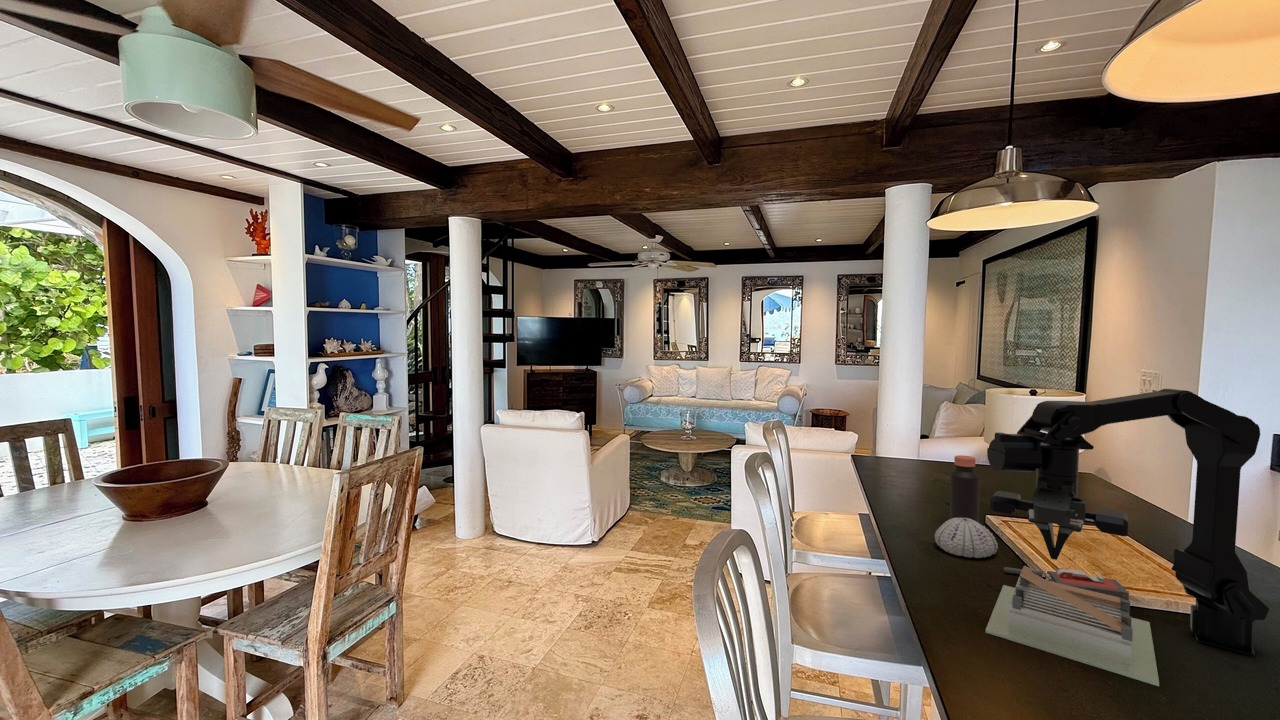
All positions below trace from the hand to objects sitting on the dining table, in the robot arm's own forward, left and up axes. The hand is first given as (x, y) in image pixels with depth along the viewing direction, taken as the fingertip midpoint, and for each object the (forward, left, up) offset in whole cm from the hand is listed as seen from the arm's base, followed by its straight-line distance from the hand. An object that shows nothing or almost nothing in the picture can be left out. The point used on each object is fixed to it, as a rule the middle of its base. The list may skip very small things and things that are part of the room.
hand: (1054, 558), depth 91 cm
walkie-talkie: (-1, -23, -14) cm, 27 cm away
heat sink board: (-2, -3, -13) cm, 14 cm away
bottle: (+22, -48, -14) cm, 55 cm away
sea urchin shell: (+19, -31, -14) cm, 39 cm away
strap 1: (-2, -9, -9) cm, 13 cm away
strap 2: (-3, +2, -6) cm, 7 cm away
